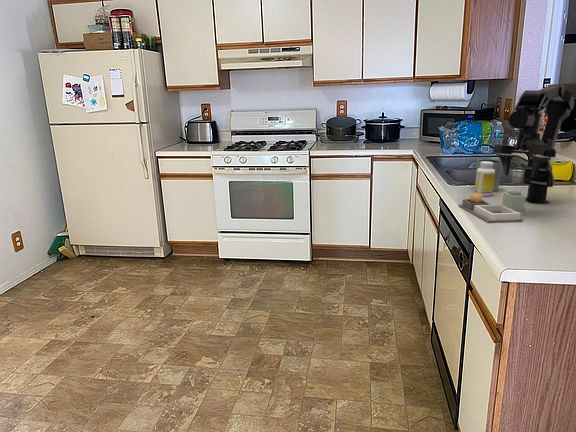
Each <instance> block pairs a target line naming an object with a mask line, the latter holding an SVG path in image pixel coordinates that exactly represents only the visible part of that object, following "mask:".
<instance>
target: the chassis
mask: <svg viewBox="0 0 576 432" xmlns="http://www.w3.org/2000/svg"><path fill="white" fill-rule="evenodd" d="M469 200H470V198H465V199H464V198H463V199H462V204H458V206H457V207H459V208H460V209H463V210H464V211H466V212H468V213H470V214H471V215H473V216H475V217H476V218H478V219H480V220H481V221H484V222H485V223H487V224H495V223H523V219H522V218H521V213H520V212H518V211H517V210H512V209H510V208H507V207H505V206H503V205H502V204H491V203H489V202H487V201H486V200H483V199H482V203H471V202H469Z"/></svg>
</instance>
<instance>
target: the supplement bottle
mask: <svg viewBox="0 0 576 432" xmlns="http://www.w3.org/2000/svg"><path fill="white" fill-rule="evenodd" d="M493 164H494V163H493V162H488V161H482V162H481V163H480V166H481V167H480V168H479V169H477V168H476V174H475V175H476V176H475V182H474V184H475V185H474V191H473V193H479V194H482V195H483V196H482V197H489V196H490V195H491V196H492V195H493V193H494V192H493V186H494V178H495V170H494V169H493V168H492V167H493Z"/></svg>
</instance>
